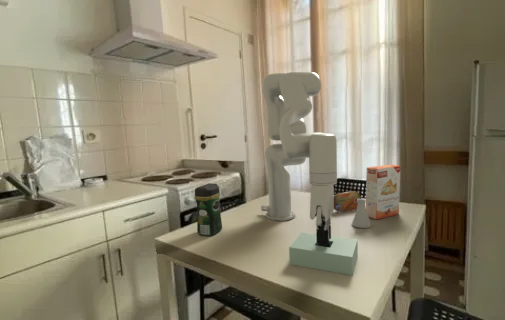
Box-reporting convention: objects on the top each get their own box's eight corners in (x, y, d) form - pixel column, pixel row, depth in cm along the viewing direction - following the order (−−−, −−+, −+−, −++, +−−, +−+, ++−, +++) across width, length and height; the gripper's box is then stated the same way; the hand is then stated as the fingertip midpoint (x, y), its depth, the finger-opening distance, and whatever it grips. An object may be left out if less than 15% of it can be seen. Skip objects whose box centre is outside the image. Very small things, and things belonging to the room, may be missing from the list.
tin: (335, 213, 124) (335, 195, 123) (330, 212, 127) (330, 193, 126) (361, 208, 130) (361, 190, 129) (356, 207, 133) (356, 189, 132)
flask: (373, 229, 105) (373, 202, 103) (353, 228, 106) (352, 202, 105) (369, 222, 112) (369, 197, 110) (350, 222, 113) (349, 197, 112)
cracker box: (377, 220, 113) (377, 168, 111) (365, 216, 118) (365, 167, 116) (400, 214, 119) (401, 165, 117) (387, 210, 125) (388, 163, 122)
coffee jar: (208, 226, 115) (205, 181, 113) (225, 228, 111) (222, 182, 109) (193, 235, 106) (190, 186, 104) (211, 238, 103) (208, 187, 101)
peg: (317, 251, 82) (317, 217, 80) (320, 247, 84) (319, 214, 83) (328, 252, 80) (327, 218, 79) (330, 248, 83) (329, 215, 82)
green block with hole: (289, 263, 81) (289, 247, 80) (301, 247, 92) (301, 232, 91) (352, 275, 73) (352, 257, 73) (357, 255, 84) (357, 239, 84)
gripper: (316, 172, 89) (317, 229, 91) (301, 182, 74) (303, 250, 76) (341, 173, 85) (341, 232, 87) (330, 184, 71) (331, 254, 73)
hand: (323, 240), depth 82 cm, fingers closed on peg, 3 cm apart
